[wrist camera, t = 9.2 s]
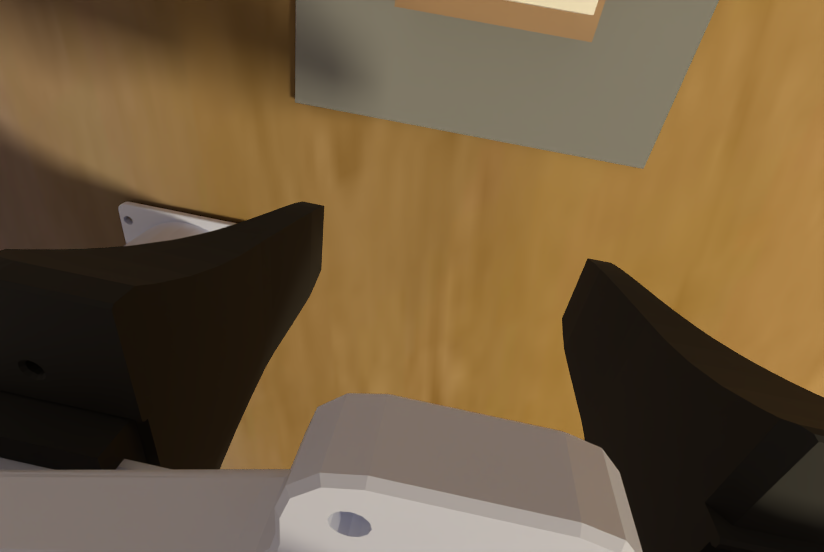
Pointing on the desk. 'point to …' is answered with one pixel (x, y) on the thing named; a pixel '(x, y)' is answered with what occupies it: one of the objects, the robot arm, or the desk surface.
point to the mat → (504, 73)
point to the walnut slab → (514, 15)
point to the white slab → (564, 5)
